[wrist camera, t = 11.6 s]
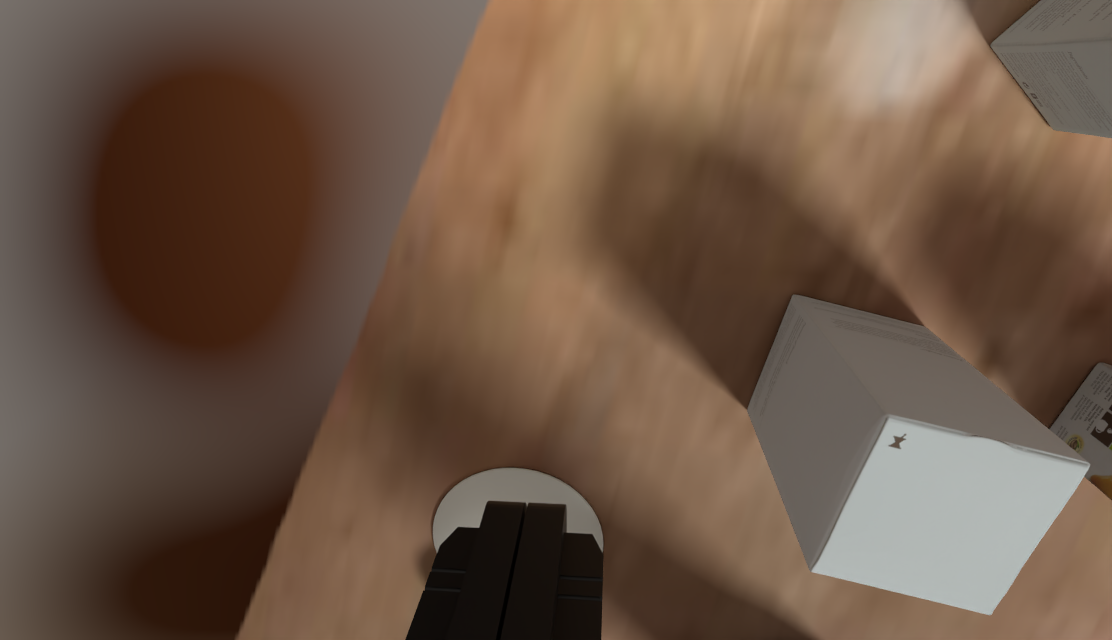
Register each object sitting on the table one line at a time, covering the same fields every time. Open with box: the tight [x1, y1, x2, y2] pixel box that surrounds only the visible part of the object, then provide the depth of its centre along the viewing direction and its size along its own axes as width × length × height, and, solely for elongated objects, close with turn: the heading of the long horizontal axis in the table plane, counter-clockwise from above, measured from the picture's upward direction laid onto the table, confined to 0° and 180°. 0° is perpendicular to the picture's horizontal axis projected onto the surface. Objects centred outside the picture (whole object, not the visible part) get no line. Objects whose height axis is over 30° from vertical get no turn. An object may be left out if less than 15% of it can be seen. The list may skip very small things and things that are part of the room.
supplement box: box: [747, 294, 1090, 615], centre depth 35 cm, size 9×9×15 cm
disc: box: [433, 468, 603, 553], centre depth 49 cm, size 13×13×1 cm
